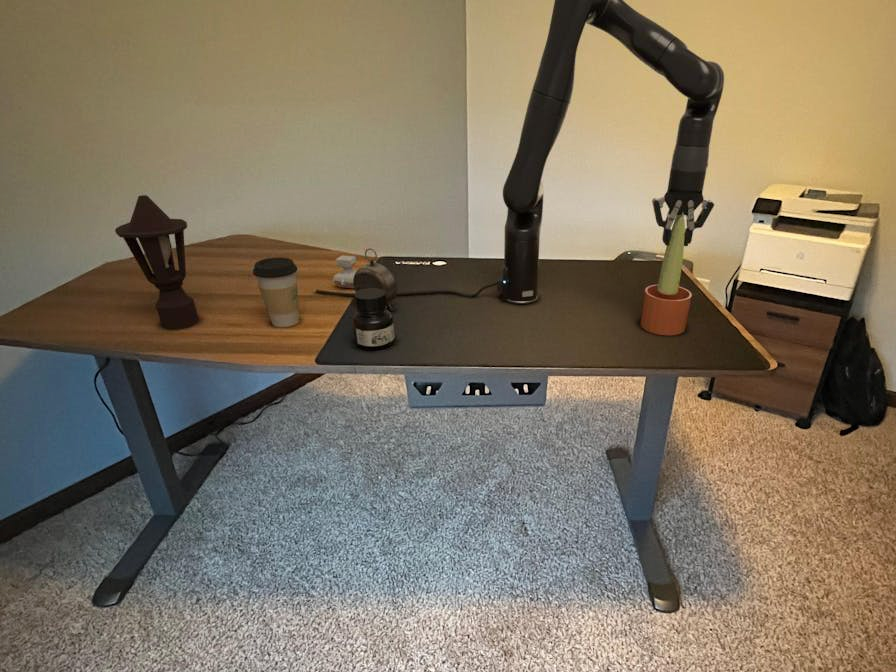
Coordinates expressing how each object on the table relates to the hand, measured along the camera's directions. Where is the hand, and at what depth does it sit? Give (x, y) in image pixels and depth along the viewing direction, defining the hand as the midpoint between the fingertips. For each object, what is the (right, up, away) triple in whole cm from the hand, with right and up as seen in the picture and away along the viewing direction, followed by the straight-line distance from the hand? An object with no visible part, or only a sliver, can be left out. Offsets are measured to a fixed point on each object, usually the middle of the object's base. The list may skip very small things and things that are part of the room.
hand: (675, 244), depth 132 cm
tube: (0, -10, +6) cm, 12 cm away
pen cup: (0, -18, +10) cm, 21 cm away
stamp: (-84, -5, +30) cm, 90 cm away
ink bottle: (-70, -23, -1) cm, 73 cm away
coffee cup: (-94, -17, +8) cm, 96 cm away
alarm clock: (-73, -13, +16) cm, 76 cm away
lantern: (-119, -18, +7) cm, 121 cm away
